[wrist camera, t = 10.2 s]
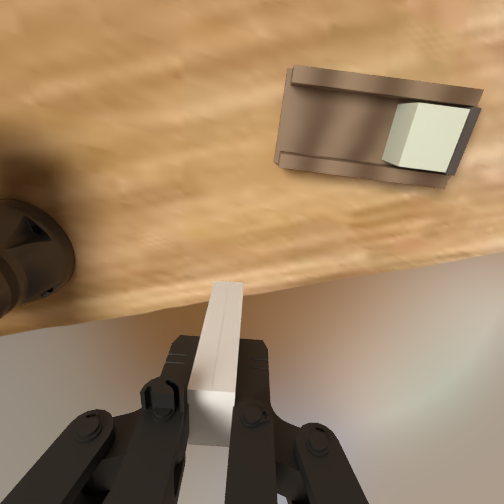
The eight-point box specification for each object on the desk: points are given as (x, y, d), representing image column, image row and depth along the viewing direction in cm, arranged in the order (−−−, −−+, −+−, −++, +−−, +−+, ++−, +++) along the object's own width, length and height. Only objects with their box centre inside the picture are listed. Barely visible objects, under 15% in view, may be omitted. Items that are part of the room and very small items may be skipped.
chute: (273, 161, 37) (274, 166, 34) (287, 69, 33) (289, 64, 29) (431, 182, 37) (448, 189, 34) (464, 92, 33) (488, 90, 30)
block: (381, 159, 36) (398, 166, 31) (398, 104, 33) (418, 102, 28) (422, 165, 36) (445, 172, 31) (442, 109, 33) (470, 109, 29)
